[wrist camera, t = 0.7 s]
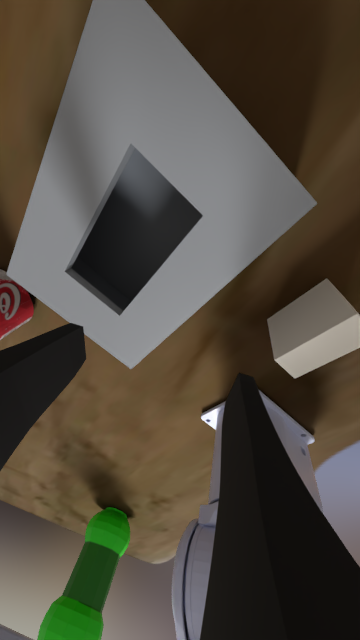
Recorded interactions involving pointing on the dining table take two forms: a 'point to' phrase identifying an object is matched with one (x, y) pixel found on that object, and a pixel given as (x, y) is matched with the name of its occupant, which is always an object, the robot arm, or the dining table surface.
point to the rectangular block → (314, 330)
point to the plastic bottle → (89, 581)
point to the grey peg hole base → (146, 188)
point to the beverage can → (13, 305)
